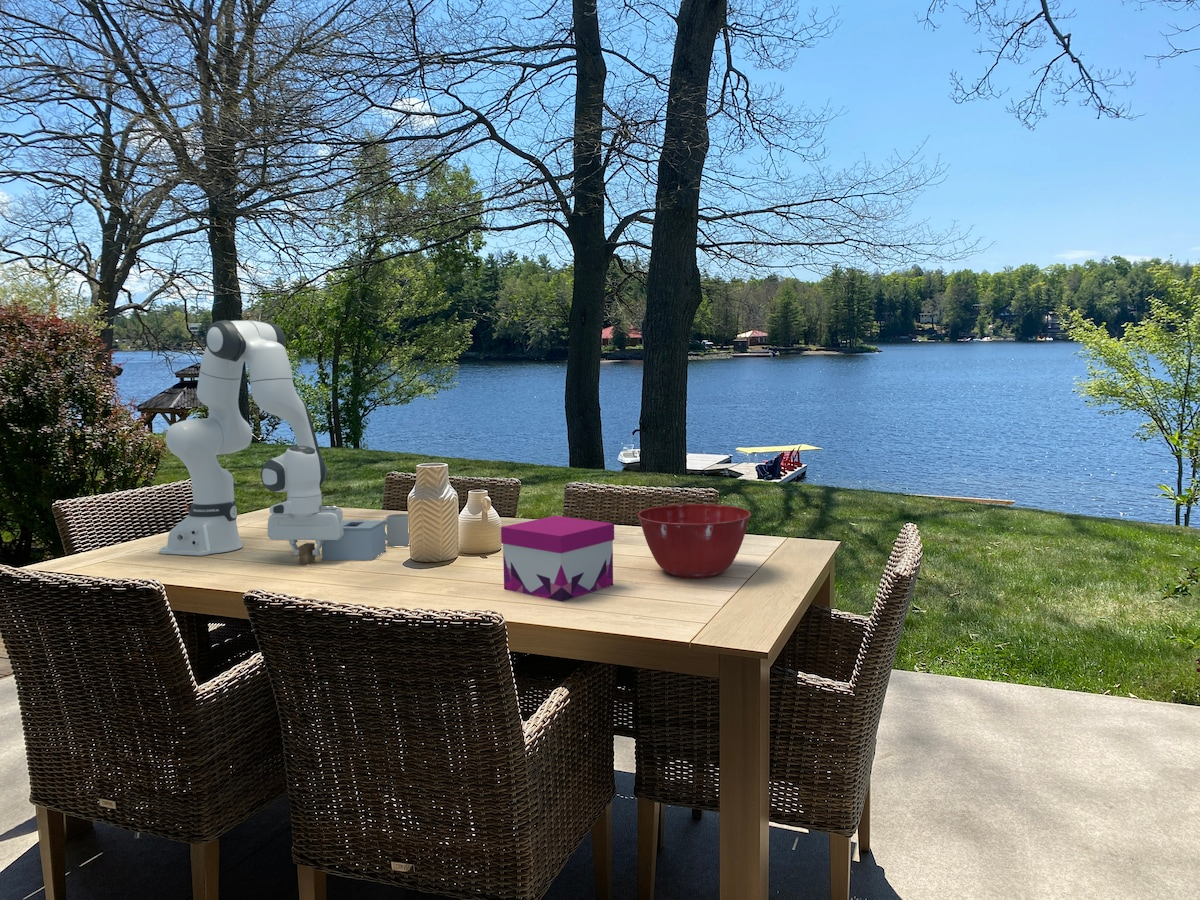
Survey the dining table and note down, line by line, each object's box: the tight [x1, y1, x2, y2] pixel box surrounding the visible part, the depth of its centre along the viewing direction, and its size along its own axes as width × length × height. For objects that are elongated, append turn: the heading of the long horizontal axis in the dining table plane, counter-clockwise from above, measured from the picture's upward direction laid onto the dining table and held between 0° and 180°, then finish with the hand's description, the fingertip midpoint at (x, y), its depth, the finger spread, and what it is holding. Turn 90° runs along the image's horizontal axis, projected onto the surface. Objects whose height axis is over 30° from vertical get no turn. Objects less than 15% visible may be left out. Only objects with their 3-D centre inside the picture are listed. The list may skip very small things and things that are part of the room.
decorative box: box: [500, 515, 615, 602], centre depth 199 cm, size 19×19×15 cm
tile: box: [298, 542, 316, 566], centre depth 229 cm, size 2×5×5 cm, turn 176°
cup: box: [382, 513, 409, 547], centre depth 252 cm, size 7×10×9 cm
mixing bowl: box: [637, 503, 752, 579], centre depth 212 cm, size 28×28×15 cm
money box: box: [321, 520, 387, 561], centre depth 237 cm, size 14×12×9 cm
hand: (307, 555), depth 229 cm, fingers open, 4 cm apart
